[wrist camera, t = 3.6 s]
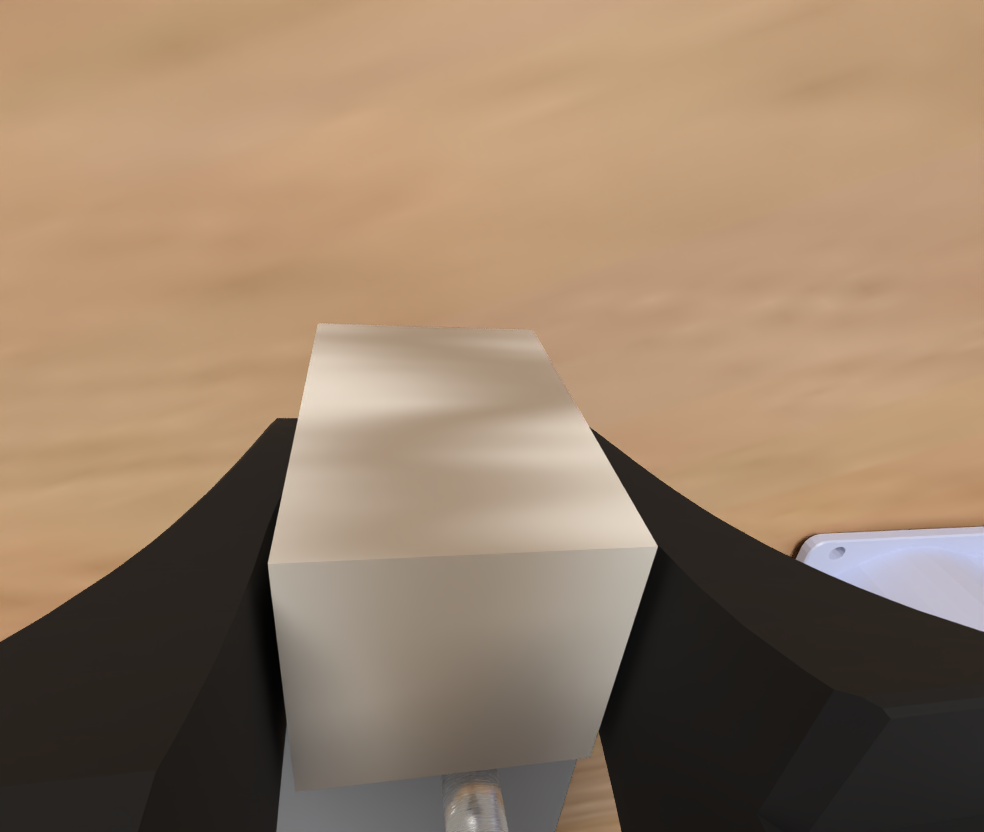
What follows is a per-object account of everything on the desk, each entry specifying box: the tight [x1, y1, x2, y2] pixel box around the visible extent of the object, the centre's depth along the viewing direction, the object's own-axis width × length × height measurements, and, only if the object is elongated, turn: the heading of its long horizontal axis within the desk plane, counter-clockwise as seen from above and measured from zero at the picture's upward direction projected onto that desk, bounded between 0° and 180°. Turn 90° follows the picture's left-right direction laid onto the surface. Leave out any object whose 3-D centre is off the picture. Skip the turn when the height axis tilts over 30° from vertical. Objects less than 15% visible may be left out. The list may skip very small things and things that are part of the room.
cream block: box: [268, 323, 658, 792], centre depth 10 cm, size 4×4×6 cm
